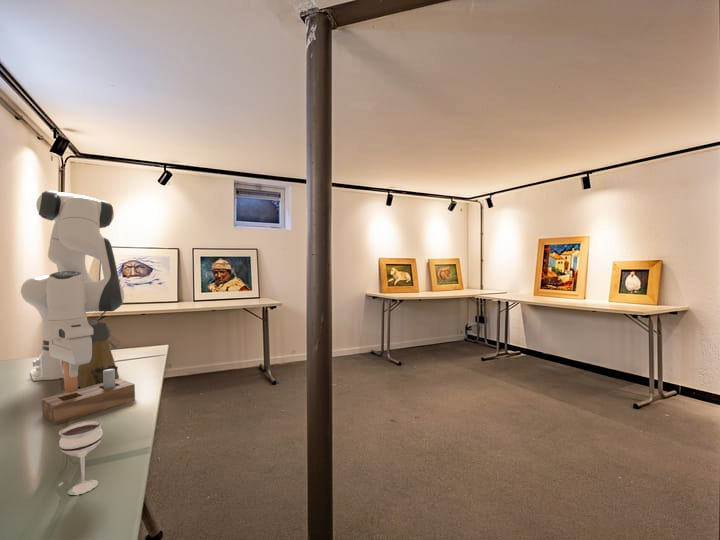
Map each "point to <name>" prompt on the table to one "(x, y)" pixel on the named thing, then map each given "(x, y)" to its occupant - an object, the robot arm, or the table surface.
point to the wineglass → (81, 445)
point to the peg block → (86, 401)
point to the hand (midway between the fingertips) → (70, 375)
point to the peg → (69, 380)
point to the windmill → (97, 352)
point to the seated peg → (109, 378)
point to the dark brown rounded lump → (101, 374)
